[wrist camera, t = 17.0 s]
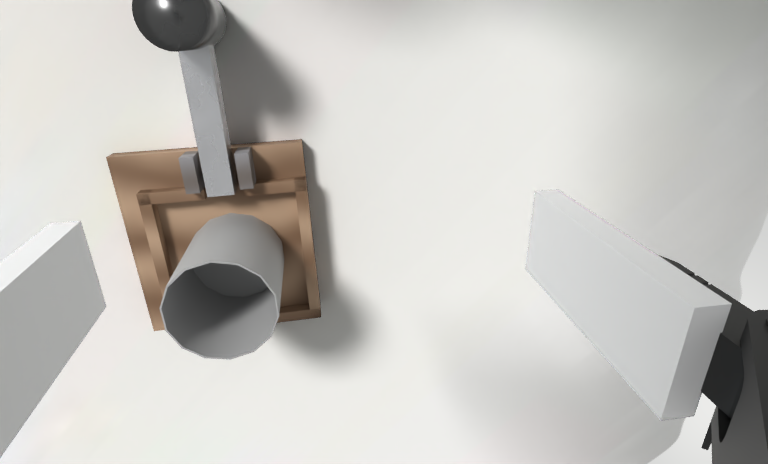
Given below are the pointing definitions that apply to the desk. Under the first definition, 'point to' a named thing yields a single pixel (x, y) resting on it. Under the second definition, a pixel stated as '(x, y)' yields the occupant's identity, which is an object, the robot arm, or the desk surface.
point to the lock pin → (196, 77)
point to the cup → (226, 288)
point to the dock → (216, 214)
